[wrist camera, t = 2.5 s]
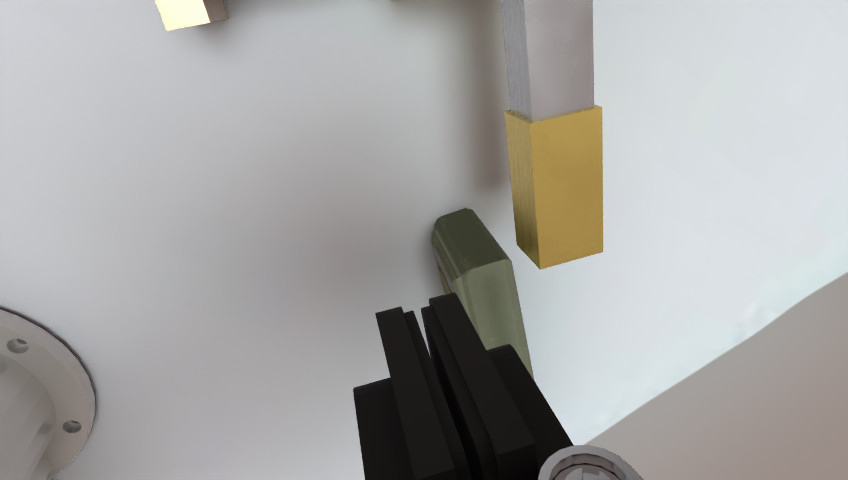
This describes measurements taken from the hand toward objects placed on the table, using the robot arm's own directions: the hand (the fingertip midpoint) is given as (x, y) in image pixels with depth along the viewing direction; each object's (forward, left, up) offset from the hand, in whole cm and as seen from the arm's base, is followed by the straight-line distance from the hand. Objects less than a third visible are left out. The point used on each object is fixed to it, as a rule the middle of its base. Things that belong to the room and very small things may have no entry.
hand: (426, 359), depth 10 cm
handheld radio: (-17, -6, -18) cm, 25 cm away
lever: (+4, -8, -11) cm, 14 cm away
